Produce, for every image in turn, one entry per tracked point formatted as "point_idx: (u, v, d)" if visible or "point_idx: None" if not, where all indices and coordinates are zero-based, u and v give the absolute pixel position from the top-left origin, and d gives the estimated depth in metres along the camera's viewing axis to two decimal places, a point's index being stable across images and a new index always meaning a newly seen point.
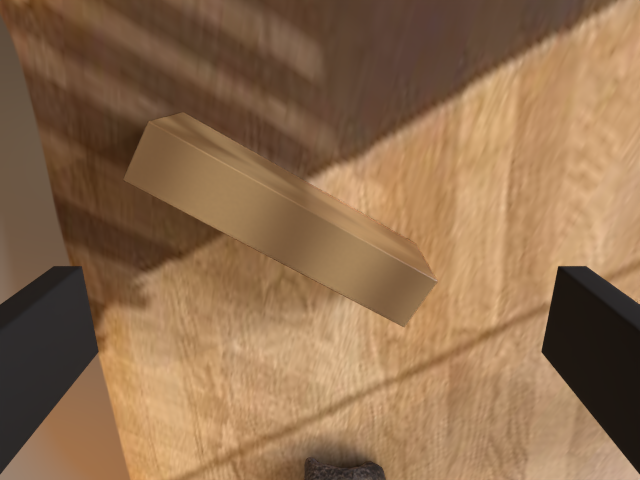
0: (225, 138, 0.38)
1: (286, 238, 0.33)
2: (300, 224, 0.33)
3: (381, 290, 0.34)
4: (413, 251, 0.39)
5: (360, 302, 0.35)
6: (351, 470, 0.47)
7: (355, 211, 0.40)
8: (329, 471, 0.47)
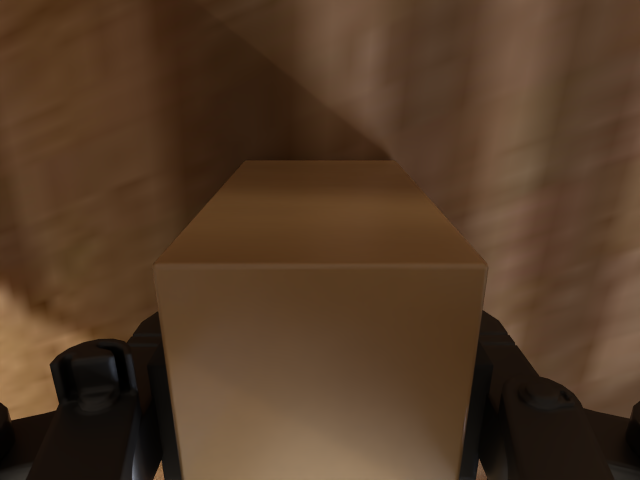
0: None
1: None
2: None
3: None
4: None
5: None
6: None
7: None
8: None
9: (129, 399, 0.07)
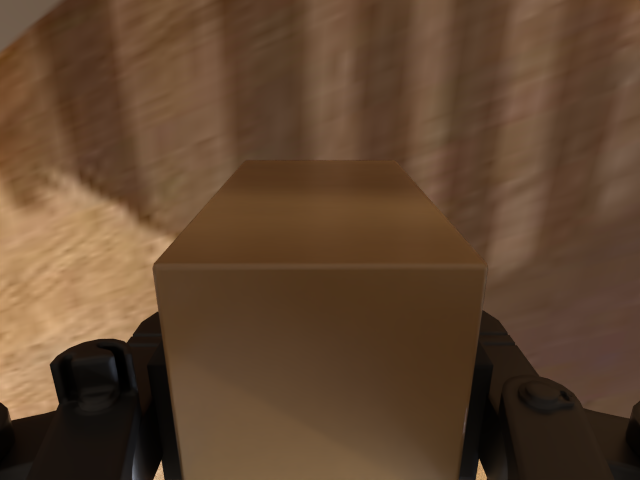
0: None
1: None
2: None
3: None
4: None
5: None
6: None
7: None
8: None
9: (129, 399, 0.07)
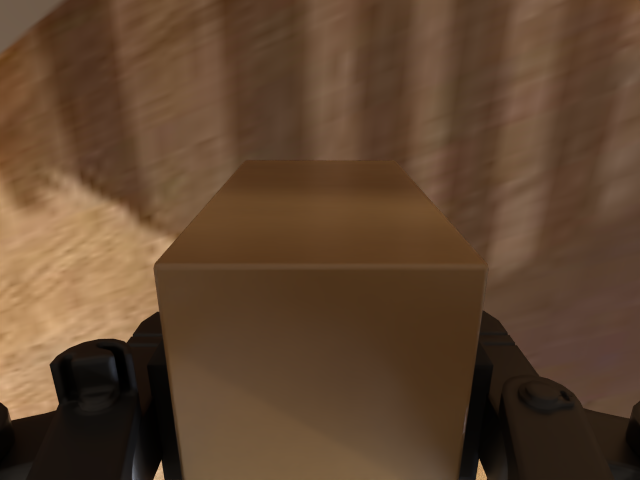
0: None
1: None
2: None
3: None
4: None
5: None
6: None
7: None
8: None
9: (129, 399, 0.07)
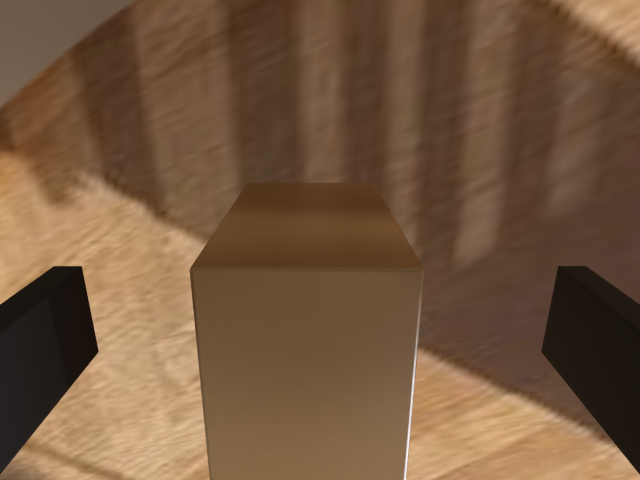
0: None
1: None
2: None
3: None
4: None
5: None
6: None
7: None
8: None
9: None
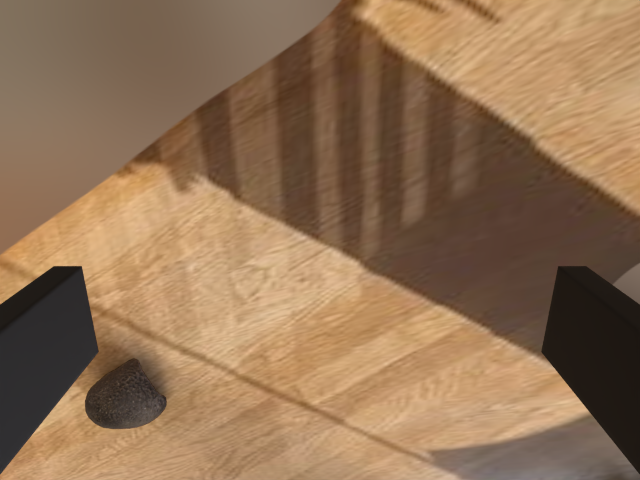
0: None
1: None
2: None
3: None
4: None
5: None
6: (157, 393, 0.59)
7: None
8: (145, 381, 0.58)
9: None
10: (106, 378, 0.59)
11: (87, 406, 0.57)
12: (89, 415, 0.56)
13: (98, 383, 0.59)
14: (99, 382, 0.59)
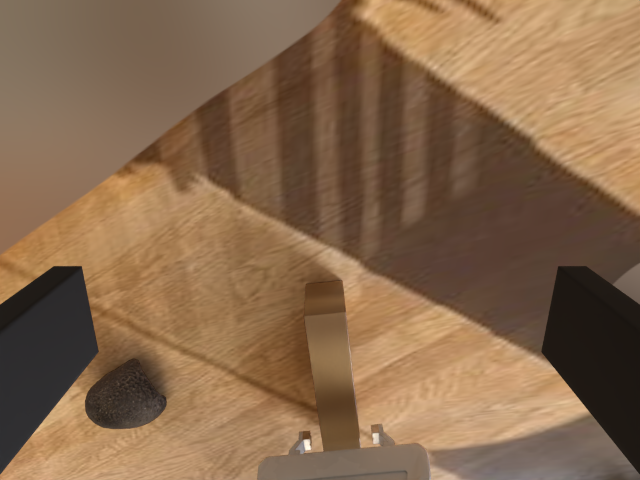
0: None
1: (332, 403, 0.54)
2: (345, 404, 0.54)
3: None
4: None
5: None
6: (157, 393, 0.59)
7: None
8: (145, 381, 0.58)
9: None
10: (106, 378, 0.59)
11: (87, 406, 0.57)
12: (89, 415, 0.56)
13: (98, 383, 0.59)
14: (99, 382, 0.59)
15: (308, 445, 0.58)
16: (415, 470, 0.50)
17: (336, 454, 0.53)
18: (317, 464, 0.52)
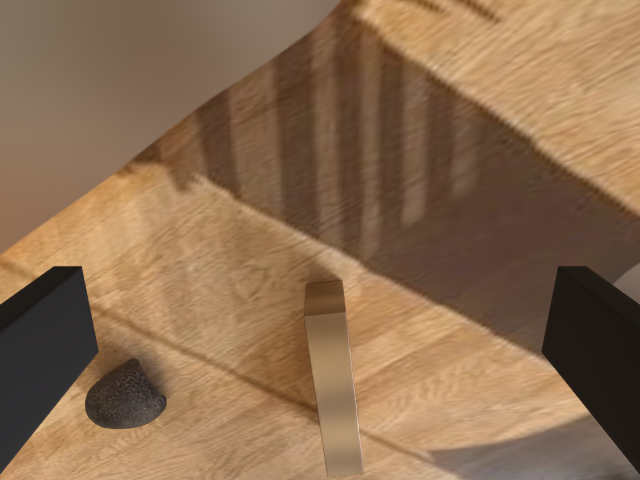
0: None
1: (332, 403, 0.54)
2: (345, 404, 0.54)
3: (339, 456, 0.56)
4: None
5: (325, 452, 0.56)
6: (157, 393, 0.59)
7: None
8: (145, 381, 0.58)
9: None
10: (106, 378, 0.59)
11: (87, 406, 0.57)
12: (89, 415, 0.56)
13: (98, 383, 0.59)
14: (99, 382, 0.59)
15: None
16: None
17: None
18: None
